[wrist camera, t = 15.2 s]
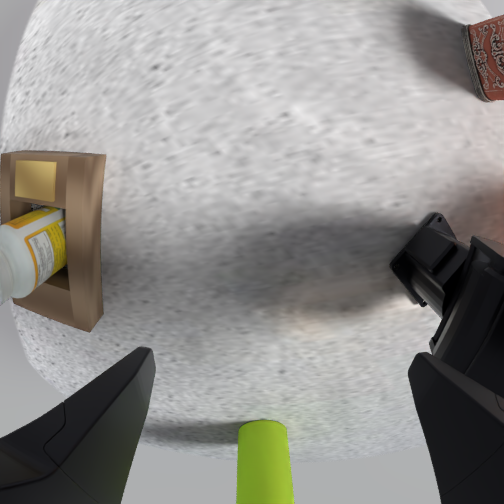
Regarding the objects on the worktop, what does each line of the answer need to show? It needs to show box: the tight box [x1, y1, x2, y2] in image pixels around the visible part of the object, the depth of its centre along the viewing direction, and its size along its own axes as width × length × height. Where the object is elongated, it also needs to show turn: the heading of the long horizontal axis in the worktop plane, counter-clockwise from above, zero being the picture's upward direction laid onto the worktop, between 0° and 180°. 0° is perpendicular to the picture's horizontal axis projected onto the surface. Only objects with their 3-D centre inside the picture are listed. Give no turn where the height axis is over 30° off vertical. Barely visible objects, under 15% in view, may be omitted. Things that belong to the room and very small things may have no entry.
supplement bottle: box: [0, 206, 67, 305], centre depth 16 cm, size 5×5×10 cm
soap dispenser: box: [236, 420, 294, 504], centre depth 20 cm, size 6×7×20 cm
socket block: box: [0, 150, 106, 333], centre depth 18 cm, size 14×10×3 cm
